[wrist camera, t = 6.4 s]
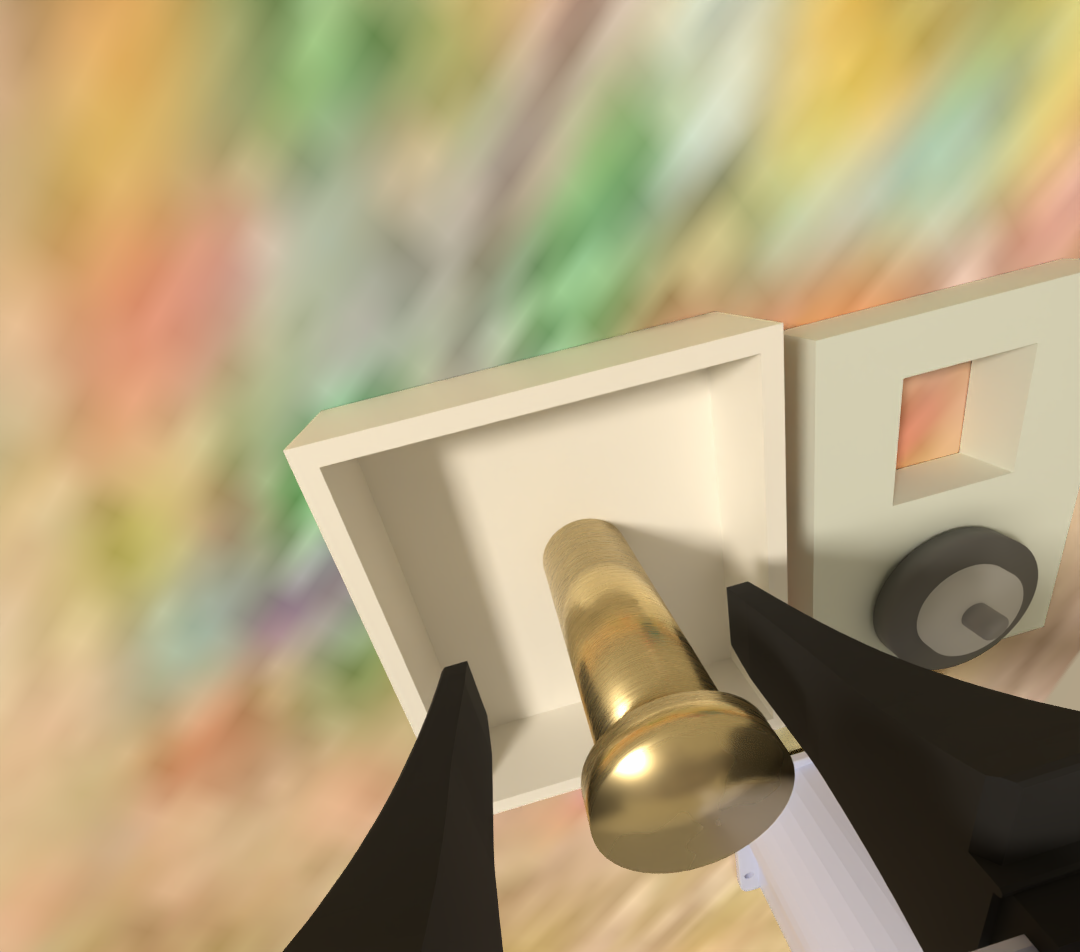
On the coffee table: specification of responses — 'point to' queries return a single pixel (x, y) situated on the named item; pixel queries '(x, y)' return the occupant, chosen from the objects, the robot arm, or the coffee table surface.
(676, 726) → the pin
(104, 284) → the coffee table surface
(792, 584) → the block
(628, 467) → the tray
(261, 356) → the coffee table surface
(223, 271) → the coffee table surface
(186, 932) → the coffee table surface
